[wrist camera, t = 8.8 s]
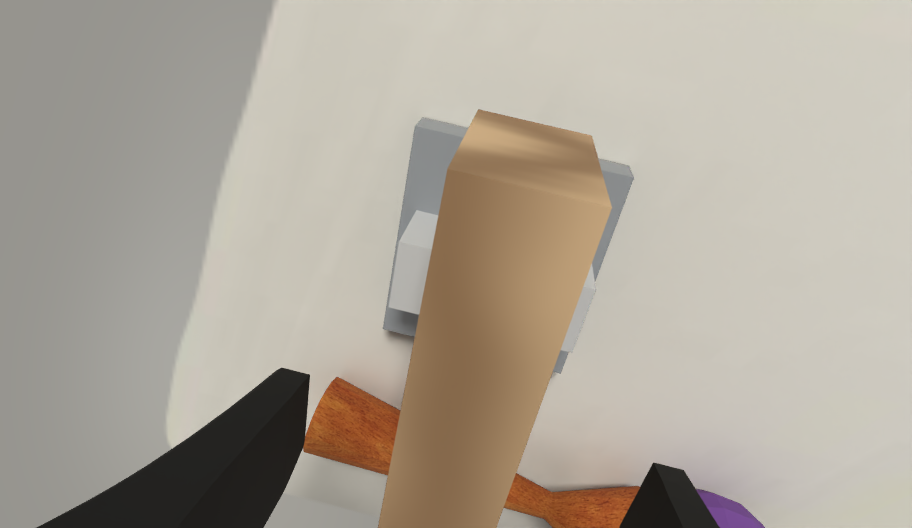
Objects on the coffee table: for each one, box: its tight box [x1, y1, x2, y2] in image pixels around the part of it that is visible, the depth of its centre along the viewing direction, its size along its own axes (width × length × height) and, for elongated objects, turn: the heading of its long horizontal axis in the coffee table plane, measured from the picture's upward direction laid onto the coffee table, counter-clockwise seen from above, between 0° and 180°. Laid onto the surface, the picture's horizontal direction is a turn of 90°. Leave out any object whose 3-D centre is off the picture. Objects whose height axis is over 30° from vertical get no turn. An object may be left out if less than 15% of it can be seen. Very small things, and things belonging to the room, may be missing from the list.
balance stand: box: [383, 118, 634, 374], centre depth 18 cm, size 7×8×4 cm
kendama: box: [303, 377, 765, 528], centre depth 23 cm, size 6×6×20 cm
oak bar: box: [378, 109, 612, 528], centre depth 15 cm, size 3×11×5 cm, turn 169°
